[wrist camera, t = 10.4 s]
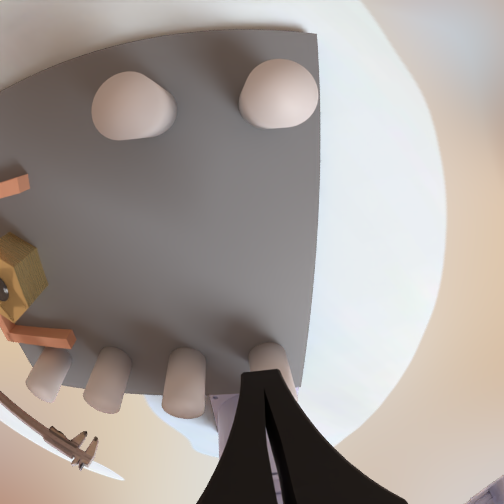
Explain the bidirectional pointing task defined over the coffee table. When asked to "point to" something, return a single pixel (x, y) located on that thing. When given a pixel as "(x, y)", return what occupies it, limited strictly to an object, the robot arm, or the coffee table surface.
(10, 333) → the parts bay
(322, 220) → the coffee table surface
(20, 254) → the brass nut
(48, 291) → the plate
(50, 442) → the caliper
